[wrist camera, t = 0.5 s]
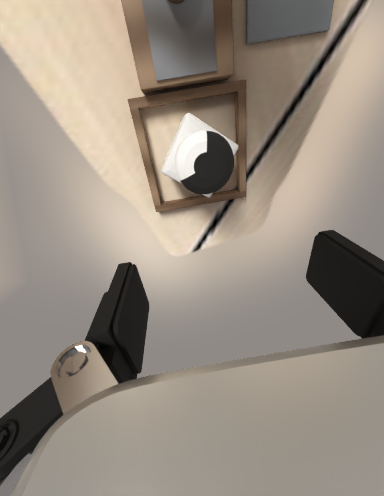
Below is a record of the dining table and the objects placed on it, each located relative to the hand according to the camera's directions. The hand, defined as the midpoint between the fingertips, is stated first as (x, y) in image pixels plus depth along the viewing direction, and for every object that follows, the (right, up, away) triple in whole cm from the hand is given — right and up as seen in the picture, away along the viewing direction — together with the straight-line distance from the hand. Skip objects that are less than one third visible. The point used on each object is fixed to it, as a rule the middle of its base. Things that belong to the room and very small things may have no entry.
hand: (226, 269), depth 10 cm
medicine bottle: (-2, +16, +19) cm, 25 cm away
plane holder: (-2, +20, +16) cm, 26 cm away
